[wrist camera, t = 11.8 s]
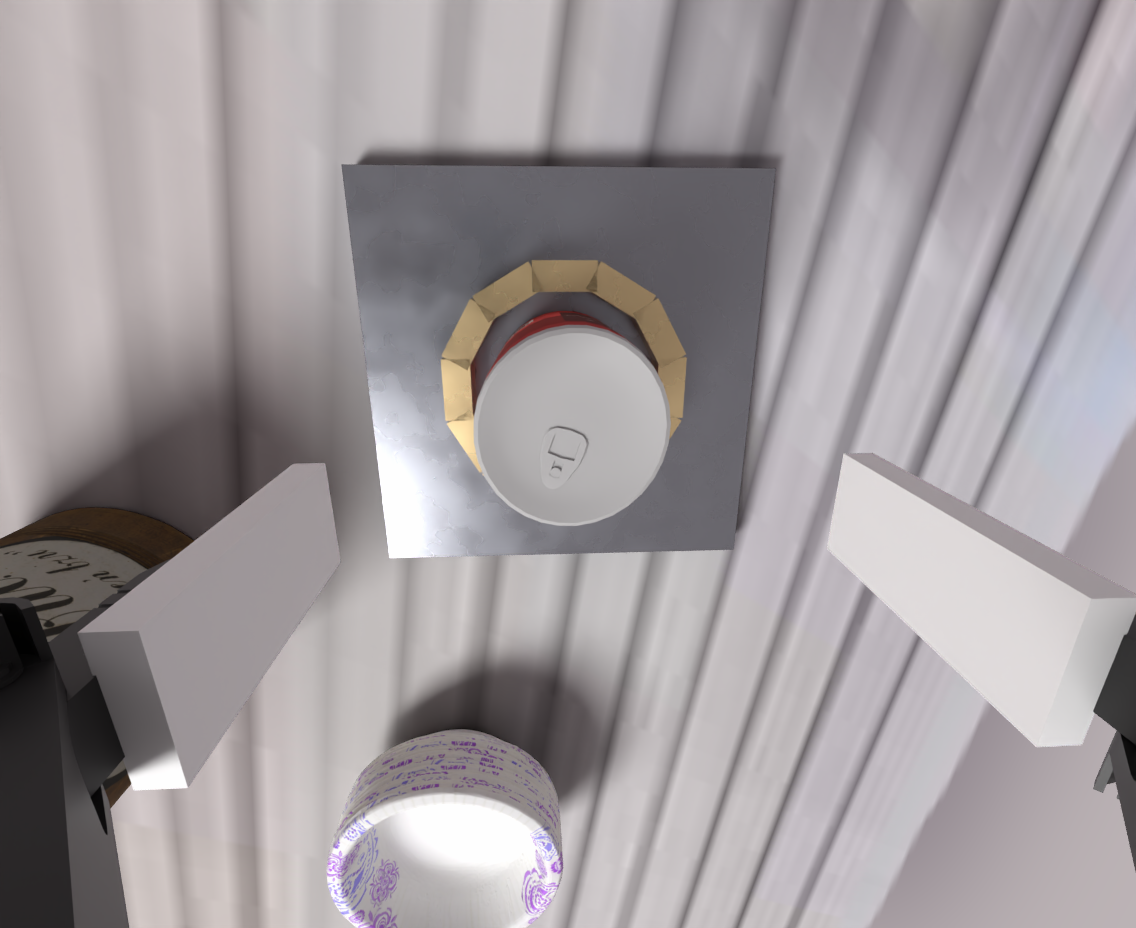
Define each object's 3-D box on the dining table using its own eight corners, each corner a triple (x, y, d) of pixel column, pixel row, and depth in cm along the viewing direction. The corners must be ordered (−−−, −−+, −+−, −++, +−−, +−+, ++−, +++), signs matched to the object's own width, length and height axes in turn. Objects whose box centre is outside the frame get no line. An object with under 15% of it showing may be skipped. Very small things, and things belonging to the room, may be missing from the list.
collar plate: (395, 546, 35) (380, 574, 32) (351, 170, 28) (326, 156, 25) (726, 538, 37) (744, 565, 33) (764, 173, 29) (792, 160, 26)
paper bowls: (584, 814, 44) (593, 923, 37) (411, 865, 45) (386, 982, 38) (519, 671, 39) (514, 764, 32) (326, 732, 40) (277, 836, 33)
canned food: (493, 445, 32) (470, 525, 22) (495, 304, 29) (471, 318, 19) (621, 451, 32) (660, 532, 22) (634, 313, 30) (685, 331, 20)
